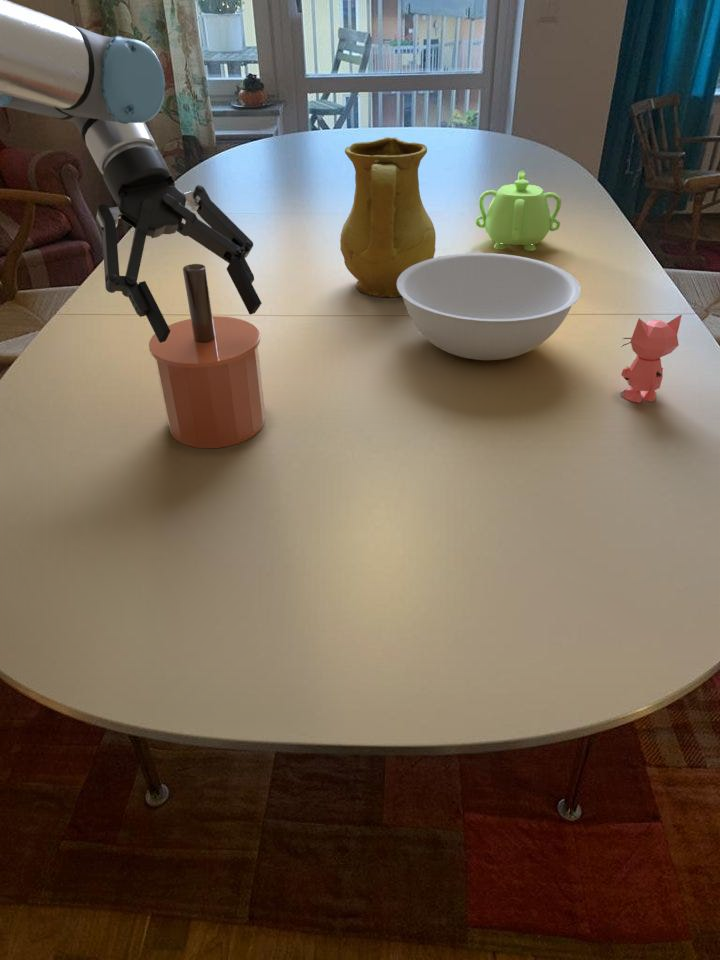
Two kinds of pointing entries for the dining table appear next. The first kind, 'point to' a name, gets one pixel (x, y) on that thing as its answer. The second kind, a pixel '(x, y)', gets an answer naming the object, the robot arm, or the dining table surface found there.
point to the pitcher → (386, 215)
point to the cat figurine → (649, 357)
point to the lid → (204, 331)
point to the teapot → (518, 214)
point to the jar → (213, 402)
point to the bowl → (487, 303)
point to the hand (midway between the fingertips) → (212, 322)
